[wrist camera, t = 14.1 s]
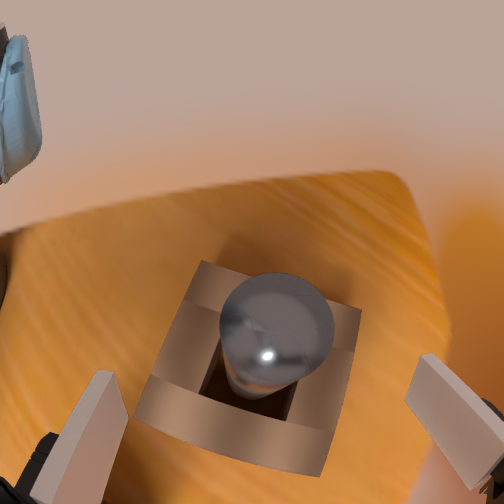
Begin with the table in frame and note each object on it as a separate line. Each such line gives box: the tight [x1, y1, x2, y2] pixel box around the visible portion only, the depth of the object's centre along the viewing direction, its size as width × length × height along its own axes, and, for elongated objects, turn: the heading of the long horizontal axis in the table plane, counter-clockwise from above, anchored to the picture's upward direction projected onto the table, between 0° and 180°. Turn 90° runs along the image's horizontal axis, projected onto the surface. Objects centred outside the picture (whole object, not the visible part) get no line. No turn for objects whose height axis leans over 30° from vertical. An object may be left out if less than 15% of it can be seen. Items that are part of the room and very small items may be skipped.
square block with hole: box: [133, 260, 362, 477], centre depth 20 cm, size 13×13×4 cm
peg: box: [219, 273, 335, 400], centre depth 15 cm, size 4×4×14 cm
